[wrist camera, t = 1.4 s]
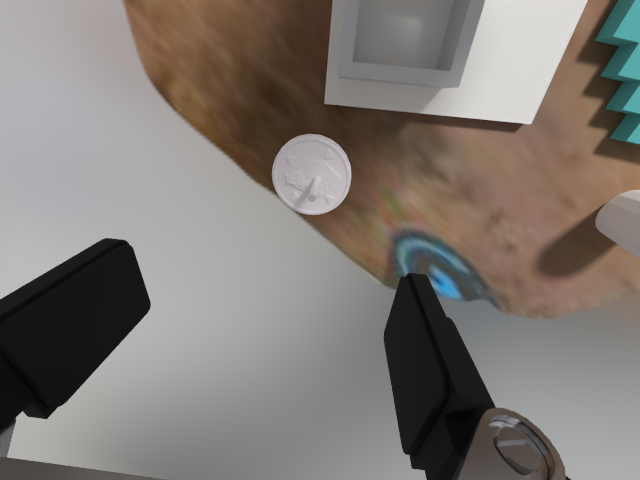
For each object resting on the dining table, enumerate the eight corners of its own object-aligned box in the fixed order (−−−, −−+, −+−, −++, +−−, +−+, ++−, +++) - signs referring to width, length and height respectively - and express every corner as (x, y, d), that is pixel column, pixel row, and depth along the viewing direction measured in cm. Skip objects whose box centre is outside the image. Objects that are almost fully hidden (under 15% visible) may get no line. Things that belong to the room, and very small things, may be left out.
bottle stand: (342, -110, 19) (341, -170, 15) (619, -89, 18) (703, -146, 14) (324, 103, 26) (320, 105, 22) (524, 123, 25) (561, 129, 21)
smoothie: (349, 181, 30) (352, 241, 18) (295, 182, 30) (262, 241, 18) (350, 121, 27) (354, 144, 14) (289, 123, 27) (245, 147, 15)
